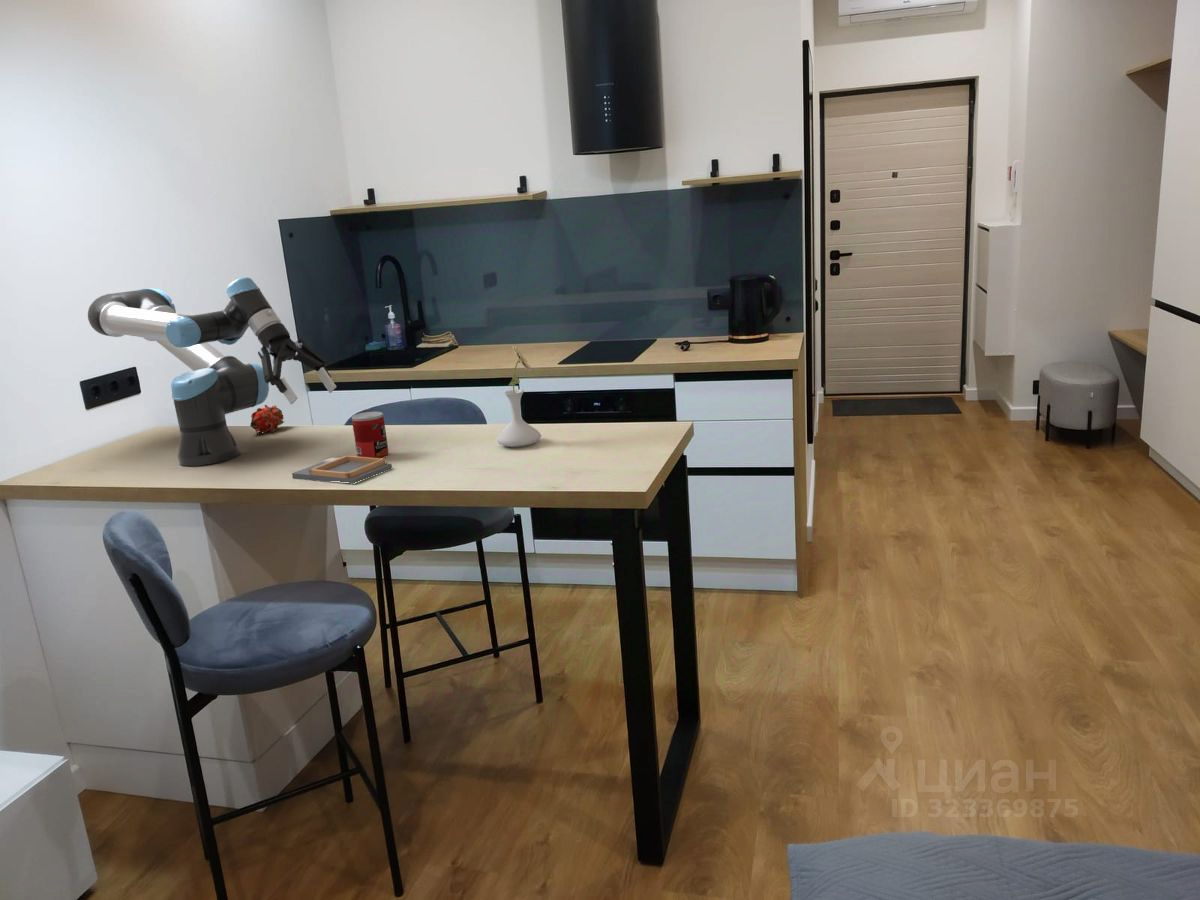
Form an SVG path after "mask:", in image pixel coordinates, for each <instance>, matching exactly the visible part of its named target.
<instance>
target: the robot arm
mask: <svg viewBox="0 0 1200 900" xmlns="http://www.w3.org/2000/svg"><path fill="white" fill-rule="evenodd" d="M226 295H227V297H228V298H229V299H230V301H229V302H228V303H227V305H226V306H225V308H224V309H222V310H218V311H212V312H206V313H201V314H195V315H194V314H193V315H190V314H181V313H176V306H175V304H174V303H172V301H173V300H172V299H171V297H170V295H168V294H167V292H166V291H163V290H161V289H159V288H141V289H137V290H130V291H122V292H115V293H114V292H113V293H107V294H104V295H101V296H99V297H97V298H95V299H94V300H93V302H91V304H90V306H89V307H88V310H87V320H88V322H89V325H90V326H91V327H92V329H93V330H94V331H95V332H97V333H98V334H100V335H103V336H108V337H113V338H120V337H123V336H132V337H137V338H143V339H144V340H146V341H149V342H157V343H158V344H159V345H160V346H161V347H163V348H164V349H166V351H168V352H169V353H170V354H172V356H174V357H175V358H177V359H178V360H179V361H181V362H182V363H183V364H184V365H185V366H187V367H188V368H190V370H191V371H187V372H184V373H181V374H180V375H178V376H176V377H174V378H173V379H172V381H171V384H170V387H171V398H172V399H173V405H174V408H175V409H174V410H175V412H176V418H177V423H178V428H179V433H180V436H179V438H180V439H179V444H178V445H179V446H178V453H177V458H178V464H179V465H180V466H185V467H199V466H205V465H206V466H208V465H212V463H213V464H218V463H221V462H225V461H229V460H231V459H233V458H236V457H238V456H239V455H240V451H239V445H238V444H237V442H236V440H235V439H234V436H233V435H232V433H231V432H230V429H229V427H228V425H227V421H226V415H227V414H230V413H234V412H238V411H242V410H246V409H250V408H254V407H257V406H259V405H261V404H263V403H264V402H265V401H266V400H267V398H268V396H269V393H270V392H269V391H270V385H271V386H276V388H277V389H278V391H279V392H280V393H281V394H282V395H284V397H285V399H286V400H287V402H289V404H290V405H292V404H294V403H295V402H297V399H298V396H297V394H296V393H295V391H294V389H293V388H292V387H291V386H290V384H289V383H288V381H287V380H286V379H285V377H281V375H282V367H283V362H286V361H292V360H293V361H298V362H300V363H302V364H304V365H305V366H307V367H309V368H310V369H313V370H315V371H316V375H317V377H318V378H319V380H320V381H321V383H322V384H323V385H324V387H325V388H326V389H327V392H328V393H329V394H330V393H332V392H333V391H334V390H336V388H337V385H336V384H335V382H334V380H333V379H332V376H331V374H330V373H329V372H328V370H327V368H326V367H327V366H328V365H329V360H328V359H326V358H325V357H323V356H322V355H321V354H319V353H318V352H317V351H315V350H314V349H313V348H312V347H310V346H309V345H308V344H307V343H306V341H304V339H303V338H301V337H300V338H298V339H297V340H296V341H293V339H292V338H291V334H290V332H289V330H288V329H287V327H286V326H285V325H284V323H282V320H281V318H280V317H279V316H278V314H277V313H276V312H275V310H274V309H273V308H272V306H271V304H270V303H269V301H268V300H267V299H266V297H265V296H264V293H263V292H262V291H261V288H260V287H259V286H258V285H257V284H256V282H254V280H253V279H252V278H251V277H248V276H244V277H239V278H237V279H235V280H233V281H231V282H230V283H229V284H228V285H227V287H226ZM248 328H250V330H251V331H252V333H253V334H254V336H255V337H257V339H258V341H259V343H260V345H261V346H262V347H260V348H259V350H258V352H257V354H258V357H259V358H260V360H261V361H260V362H261V365H260V364H258V363H255V362H250V363H244V362H242V361H241V360H240V359H238V358H237V357H235V356H233V355H224V354H223V353H222V352H220V351H219V350H217V348H215V347H214V346H212V345H211V344H210V343H212V342H219V343H220V344H223V345H224V344H225V345H230V346H231V345H234V344H236V343H237V342H238V341H239V340H240V339H241V338H242V337H243V336H244V335H245V333H246V331H247V330H248ZM271 356H272V357H273V360H271V359H272V358H271ZM272 365H273V366H272ZM207 464H208V465H207Z"/></svg>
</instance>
